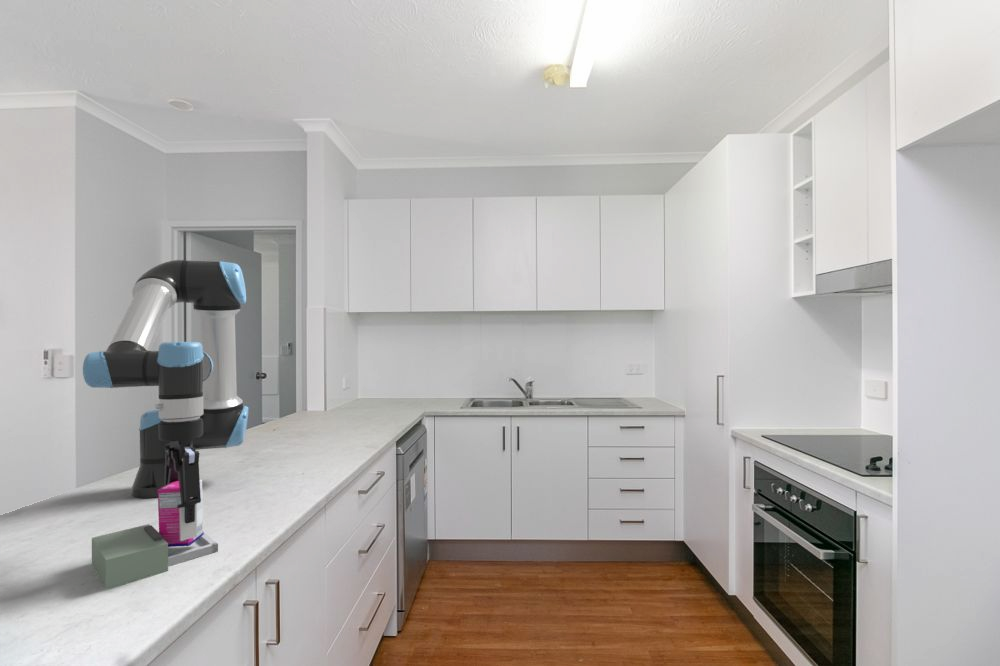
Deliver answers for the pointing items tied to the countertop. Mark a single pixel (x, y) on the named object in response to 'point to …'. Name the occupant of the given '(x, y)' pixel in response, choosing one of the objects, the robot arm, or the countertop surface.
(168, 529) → the supplement box
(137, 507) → the countertop surface
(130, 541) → the sliding drawer box
